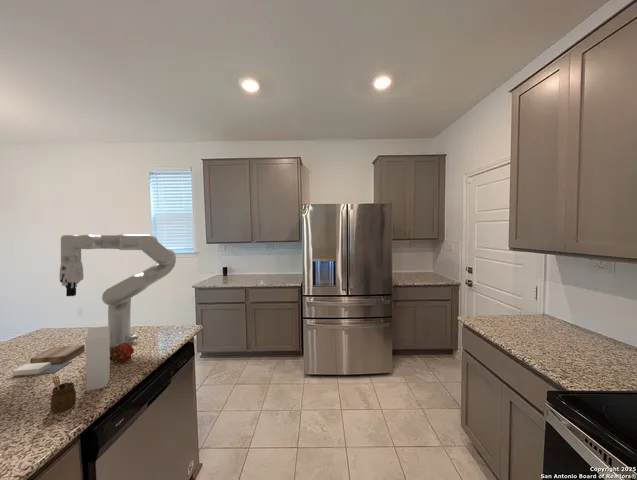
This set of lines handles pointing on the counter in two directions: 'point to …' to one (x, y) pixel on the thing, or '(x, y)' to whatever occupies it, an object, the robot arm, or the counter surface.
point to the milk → (97, 358)
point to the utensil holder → (62, 395)
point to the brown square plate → (58, 354)
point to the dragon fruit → (121, 353)
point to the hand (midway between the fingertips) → (71, 295)
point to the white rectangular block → (31, 368)
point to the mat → (53, 368)
